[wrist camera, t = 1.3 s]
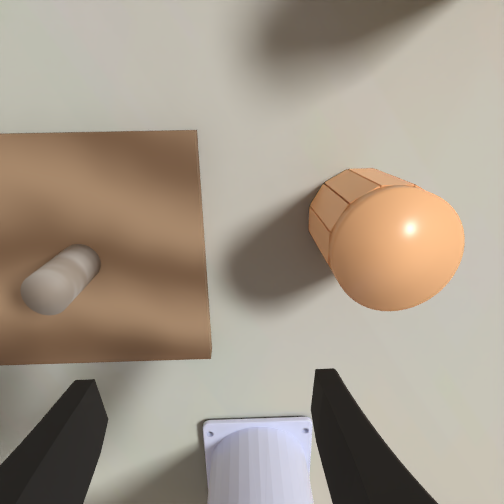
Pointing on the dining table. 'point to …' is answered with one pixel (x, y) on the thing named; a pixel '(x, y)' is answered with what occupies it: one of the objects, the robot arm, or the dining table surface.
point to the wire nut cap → (385, 238)
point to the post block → (102, 248)
